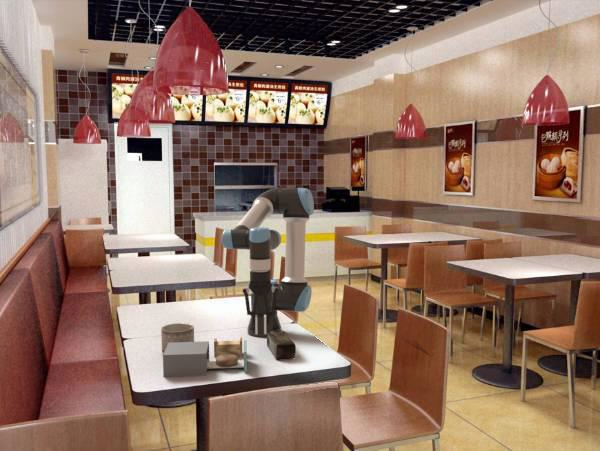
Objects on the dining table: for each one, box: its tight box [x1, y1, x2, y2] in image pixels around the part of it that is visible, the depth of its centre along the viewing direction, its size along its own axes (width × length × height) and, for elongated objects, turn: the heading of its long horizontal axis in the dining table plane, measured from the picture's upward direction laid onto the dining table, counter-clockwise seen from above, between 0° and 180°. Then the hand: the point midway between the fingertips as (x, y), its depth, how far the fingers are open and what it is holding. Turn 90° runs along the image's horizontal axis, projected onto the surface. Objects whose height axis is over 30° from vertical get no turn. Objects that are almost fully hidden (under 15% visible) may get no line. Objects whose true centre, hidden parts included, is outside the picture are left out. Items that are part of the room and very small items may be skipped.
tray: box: [207, 339, 248, 373], centre depth 208 cm, size 15×14×7 cm
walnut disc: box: [215, 354, 239, 367], centre depth 208 cm, size 8×8×2 cm
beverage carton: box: [266, 331, 297, 361], centre depth 225 cm, size 8×19×7 cm, turn 15°
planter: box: [160, 322, 195, 354], centre depth 225 cm, size 13×13×10 cm
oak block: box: [213, 337, 243, 358], centre depth 222 cm, size 11×5×6 cm, turn 95°
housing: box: [162, 340, 210, 378], centre depth 207 cm, size 15×15×8 cm
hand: (260, 333), depth 208 cm, fingers open, 3 cm apart
